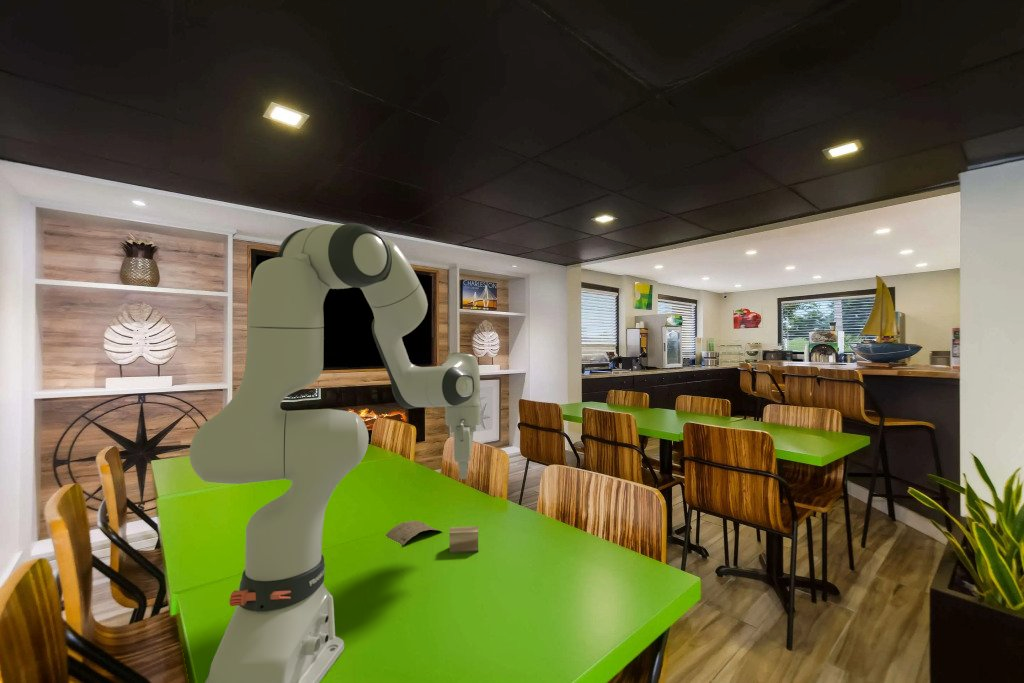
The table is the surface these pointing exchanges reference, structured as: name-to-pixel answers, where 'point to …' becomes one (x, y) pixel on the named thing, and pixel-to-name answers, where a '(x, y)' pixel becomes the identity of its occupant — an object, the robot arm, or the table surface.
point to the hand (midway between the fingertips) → (464, 474)
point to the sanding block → (463, 539)
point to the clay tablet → (407, 531)
